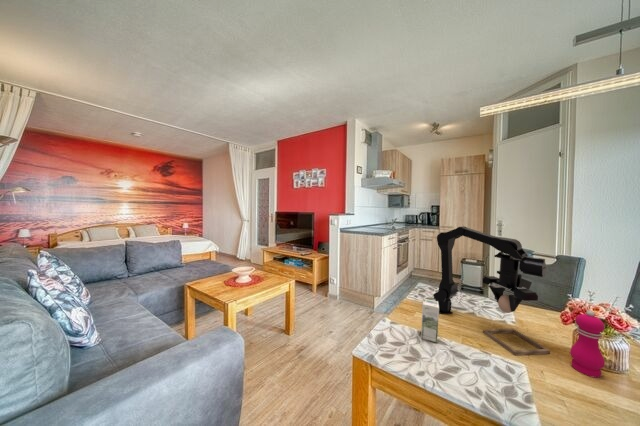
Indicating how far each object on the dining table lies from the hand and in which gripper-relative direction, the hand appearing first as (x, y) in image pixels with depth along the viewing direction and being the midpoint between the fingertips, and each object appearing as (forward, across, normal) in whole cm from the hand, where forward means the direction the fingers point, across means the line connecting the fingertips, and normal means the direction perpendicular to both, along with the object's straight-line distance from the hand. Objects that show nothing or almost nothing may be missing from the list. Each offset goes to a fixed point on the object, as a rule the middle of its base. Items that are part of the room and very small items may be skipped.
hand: (506, 307), depth 90 cm
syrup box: (+12, +1, +32) cm, 34 cm away
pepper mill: (+12, -19, -10) cm, 25 cm away
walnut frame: (+12, -4, 0) cm, 13 cm away
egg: (+2, 0, 0) cm, 2 cm away
